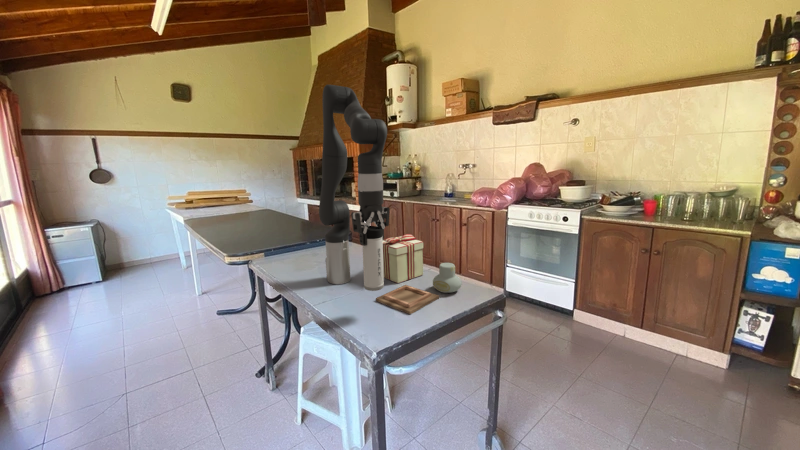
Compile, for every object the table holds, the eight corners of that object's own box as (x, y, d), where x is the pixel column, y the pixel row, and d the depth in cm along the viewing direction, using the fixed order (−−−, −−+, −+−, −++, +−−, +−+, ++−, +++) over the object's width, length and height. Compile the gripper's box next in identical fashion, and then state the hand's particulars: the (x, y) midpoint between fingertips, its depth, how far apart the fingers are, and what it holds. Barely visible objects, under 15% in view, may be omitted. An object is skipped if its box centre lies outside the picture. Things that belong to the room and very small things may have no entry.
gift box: (395, 265, 152) (395, 229, 149) (425, 274, 139) (425, 235, 136) (367, 274, 141) (366, 236, 137) (397, 286, 128) (396, 243, 124)
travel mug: (363, 283, 106) (360, 224, 102) (383, 282, 106) (381, 223, 102) (362, 291, 100) (360, 228, 96) (384, 290, 100) (382, 227, 96)
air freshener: (429, 290, 123) (428, 265, 121) (440, 283, 129) (440, 259, 127) (454, 297, 116) (455, 270, 114) (465, 289, 123) (465, 264, 121)
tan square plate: (375, 300, 115) (375, 295, 114) (405, 287, 126) (405, 282, 126) (410, 314, 104) (410, 308, 104) (439, 298, 116) (439, 292, 115)
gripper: (379, 186, 104) (380, 236, 108) (343, 190, 94) (346, 245, 97) (396, 187, 99) (396, 240, 103) (360, 191, 89) (362, 250, 92)
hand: (372, 242), depth 100 cm, fingers closed on travel mug, 6 cm apart
